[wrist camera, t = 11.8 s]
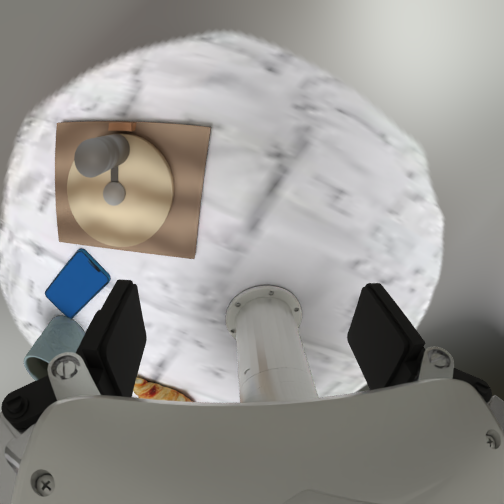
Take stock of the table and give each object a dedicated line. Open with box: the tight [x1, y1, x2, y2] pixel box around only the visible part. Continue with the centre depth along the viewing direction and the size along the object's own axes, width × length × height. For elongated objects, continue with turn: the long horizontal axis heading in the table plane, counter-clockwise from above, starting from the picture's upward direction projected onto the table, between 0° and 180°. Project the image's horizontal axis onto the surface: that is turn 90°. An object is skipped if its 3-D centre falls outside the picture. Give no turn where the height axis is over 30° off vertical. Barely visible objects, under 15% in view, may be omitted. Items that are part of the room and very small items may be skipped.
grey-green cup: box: [24, 316, 85, 381], centre depth 41 cm, size 10×10×12 cm
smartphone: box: [45, 249, 111, 319], centre depth 42 cm, size 7×1×15 cm
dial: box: [67, 133, 174, 247], centre depth 30 cm, size 15×15×9 cm
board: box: [55, 121, 211, 259], centre depth 34 cm, size 18×22×4 cm
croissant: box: [133, 377, 192, 402], centre depth 54 cm, size 21×10×8 cm, turn 40°
